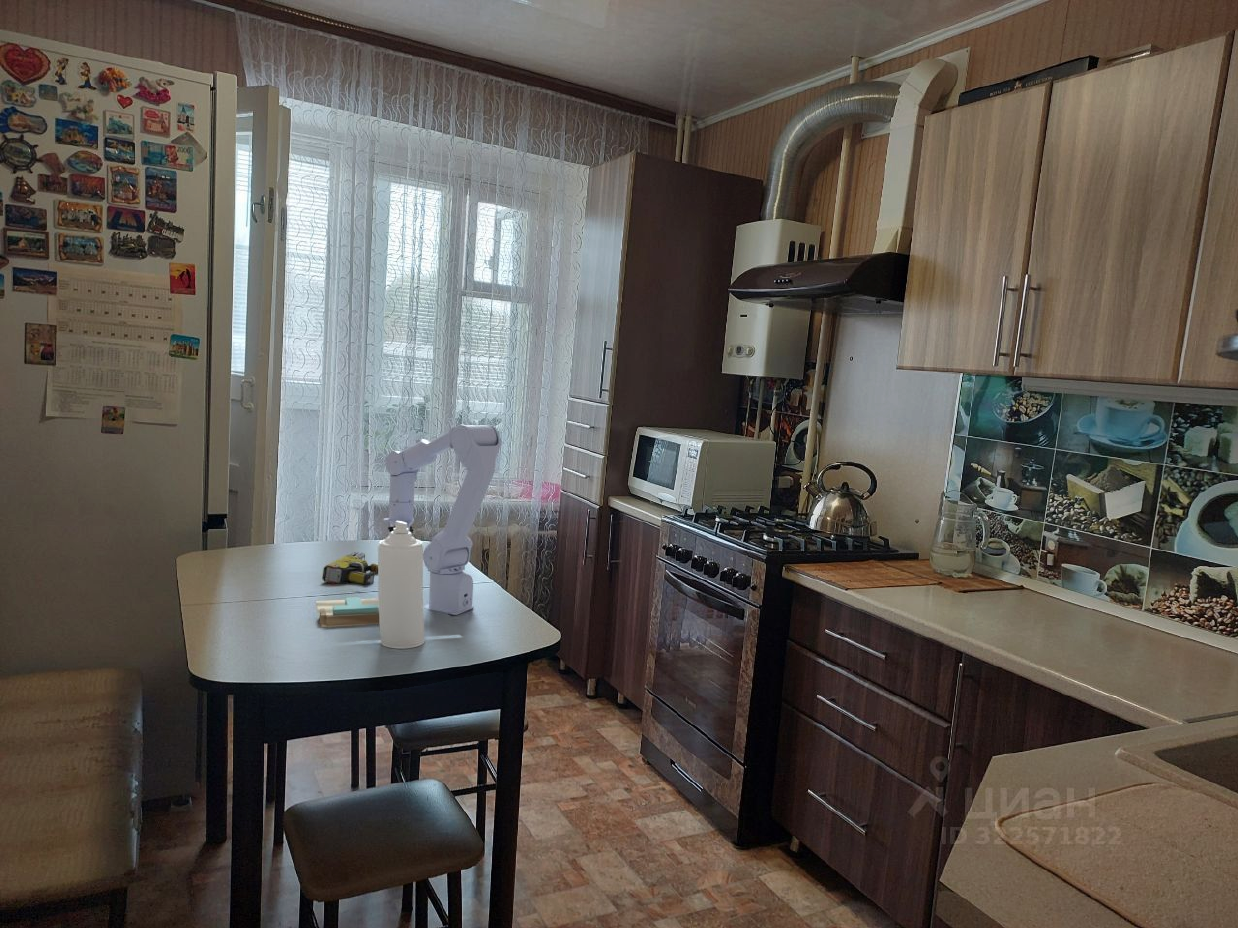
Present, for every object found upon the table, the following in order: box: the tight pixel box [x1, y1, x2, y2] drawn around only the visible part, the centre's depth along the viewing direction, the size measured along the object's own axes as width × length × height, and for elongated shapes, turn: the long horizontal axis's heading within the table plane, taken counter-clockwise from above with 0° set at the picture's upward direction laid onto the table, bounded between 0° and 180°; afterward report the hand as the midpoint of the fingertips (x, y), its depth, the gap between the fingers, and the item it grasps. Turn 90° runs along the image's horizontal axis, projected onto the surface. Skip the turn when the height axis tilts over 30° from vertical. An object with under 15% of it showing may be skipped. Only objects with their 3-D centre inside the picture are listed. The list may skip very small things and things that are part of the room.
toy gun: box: [321, 551, 378, 586], centre depth 214 cm, size 5×24×15 cm
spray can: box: [377, 521, 426, 650], centre depth 161 cm, size 12×11×25 cm
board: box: [315, 597, 380, 628], centre depth 180 cm, size 20×14×3 cm
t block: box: [333, 596, 379, 615], centre depth 176 cm, size 9×9×3 cm
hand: (399, 556), depth 197 cm, fingers closed
